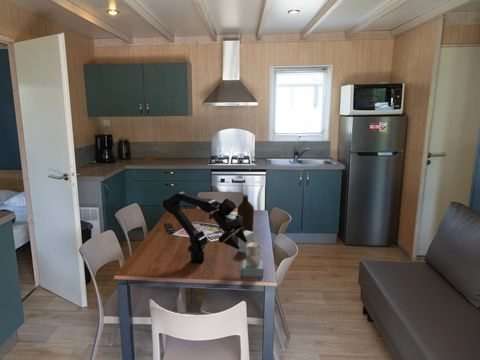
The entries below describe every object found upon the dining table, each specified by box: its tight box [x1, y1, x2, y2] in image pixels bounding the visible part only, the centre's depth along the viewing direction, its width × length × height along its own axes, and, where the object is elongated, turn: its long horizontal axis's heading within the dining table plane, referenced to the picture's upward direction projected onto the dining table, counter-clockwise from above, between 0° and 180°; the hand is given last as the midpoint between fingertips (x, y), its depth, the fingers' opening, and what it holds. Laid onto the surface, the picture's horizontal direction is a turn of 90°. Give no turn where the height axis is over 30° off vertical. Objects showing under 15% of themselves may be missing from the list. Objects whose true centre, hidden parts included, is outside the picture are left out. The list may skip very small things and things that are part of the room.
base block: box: [241, 259, 264, 278], centre depth 167 cm, size 10×10×4 cm
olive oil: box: [236, 194, 255, 232], centre depth 221 cm, size 11×11×25 cm
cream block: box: [245, 242, 261, 267], centre depth 166 cm, size 5×5×10 cm
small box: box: [237, 230, 255, 255], centre depth 193 cm, size 8×6×10 cm
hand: (242, 245), depth 167 cm, fingers open, 9 cm apart
